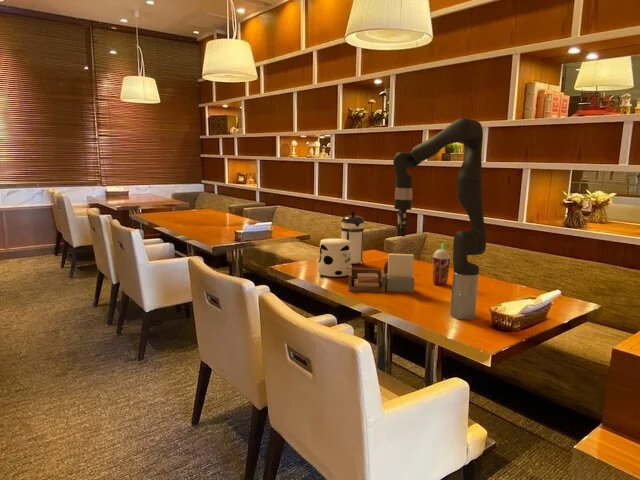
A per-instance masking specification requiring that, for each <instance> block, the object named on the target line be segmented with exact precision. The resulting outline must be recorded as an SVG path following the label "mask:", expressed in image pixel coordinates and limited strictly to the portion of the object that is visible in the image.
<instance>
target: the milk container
mask: <svg viewBox="0 0 640 480" xmlns="http://www.w3.org/2000/svg"><path fill="white" fill-rule="evenodd" d="M350 248H351V242H350V241H349V240H346V239H342V238H323V239H321V240H320V242H319V259H318V262H317V271H318V273H319V275H321V276H322V277H325V278H331V279H335V278H336V279H342V278H346V277H349V268H353V265H352V263H351V259H350V254H351V249H350Z"/></svg>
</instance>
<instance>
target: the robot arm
mask: <svg viewBox="0 0 640 480" xmlns="http://www.w3.org/2000/svg"><path fill="white" fill-rule="evenodd" d="M483 140H484V130H483V126H482V124H481V122H479V121H478V120H475V119H471V118H467V117H460V118H458V119H456V120H454V121H453V122H451V123H450V124H449V125H447V126H446V127H445V128H444V129H442V130H441V131H439V132H438V133H437V134H436V135H433V136H432V137H431V138H428V139H426V140H425V141H422V142H421V143H419V144H417V145H415V146H413V148H412V149H411V151H399V152H397V153H396V154H395V155H394V157H393V161H392V163H393V169H394V175H395V178H396V179H395V190H394V191H395V192H394V204H393V205H394V208H393V209H395V210H397V234H399V235H400V237H402V238H403V237H406V233H407V227H408V218H409V217H408V215H409V214H408V212H407V210H412V208H413V206H412V205H413V176H412V175H411V174H410V173H408V170H407V169H413V168H415V167H417V166H418V165H420V164H422V162H424V161H426V160H428V159H431V158H432V157H433V158H434V157H435V156H436V155H438V154H439V152H440V151H441V150H443V148H445V147H446V146H448V145H452V144H456V143H459V144H463V162H462V164H461V167H460V168H459V171H458V174H457V177H456V195H457V200H458V202H459V203H460V205H461V207H463V209H464V211H465V212H466V214H467V216H468V219H469V223H470V230H458V231H456V232H455V234H454V237H453V243H452V244H453V247H452V267H453V268H452V269H453V271H452V285H451V297H450V312H449V315H450V316H451V317H453V318H455V319H457V320H470V321H471V320H474V321H475V318H476V310H477V309H476V308H477V296H478V284H479V275H480V274H479V273H480V267H479V265H477V264H475V263H472V262H470V261H468V256H478V255H479V256H480V255H483V254H484V253H485V251H486V248H487V236H486V235H487V233H486V225H485V219H484V209H483V208H484V206H483V205H484V203H483V173H482V168H483V166H482V163H483V162H482V153H483Z"/></svg>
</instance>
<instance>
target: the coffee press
mask: <svg viewBox="0 0 640 480" xmlns="http://www.w3.org/2000/svg"><path fill="white" fill-rule="evenodd" d="M364 224H365V220H364V218H363V217H362V216H360V215H356V212H355V211H351V212H350V214H349V215H345V216H344V217H342V219H341V227H340V228H341V229H340V230H341V239H346V240H349V241H350V242H351V248H350V249H351V254H350V259H351V263H352V264H359V265H360V266H364V265H365V262H364V261H363V253H364V251H363V249H364V230H365V227H364Z"/></svg>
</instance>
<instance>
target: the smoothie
mask: <svg viewBox="0 0 640 480" xmlns="http://www.w3.org/2000/svg"><path fill="white" fill-rule="evenodd" d="M451 258H452V257H451V256H450V253H449V251H448V250H446V249H444V243H443V242H442V243H441V247H440V248H439V249H437V250H435V252H434V253H433V254H432V282H433V284H434V285H435V286H439V287H440V286H441V287H442V286H443V287H444V286H446V285H447V283H448V280H449V272H450V263H451Z"/></svg>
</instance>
